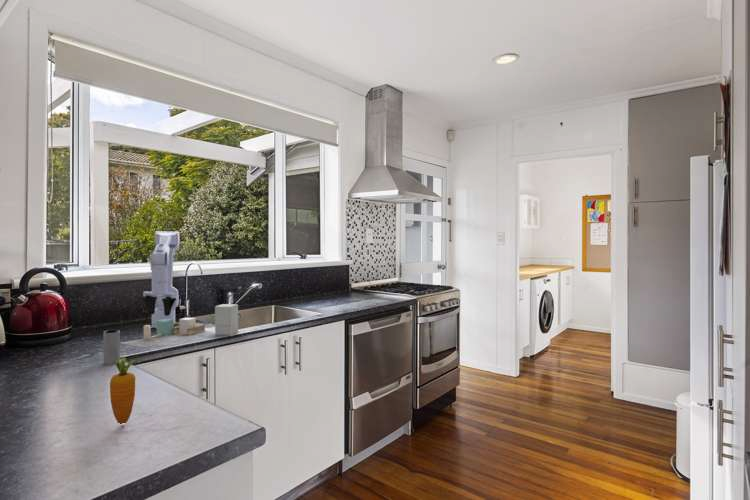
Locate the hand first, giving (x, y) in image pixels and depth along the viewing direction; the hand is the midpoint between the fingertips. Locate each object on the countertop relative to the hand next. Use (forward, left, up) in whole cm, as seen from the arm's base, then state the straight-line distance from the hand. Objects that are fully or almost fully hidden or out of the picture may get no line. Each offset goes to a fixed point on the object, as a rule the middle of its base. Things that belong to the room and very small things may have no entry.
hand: (159, 314), depth 172 cm
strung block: (-1, 0, -9) cm, 9 cm away
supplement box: (+22, +14, -10) cm, 28 cm away
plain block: (+6, +9, -9) cm, 14 cm away
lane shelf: (+3, +10, -10) cm, 14 cm away
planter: (+11, -33, -10) cm, 36 cm away
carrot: (+53, -70, -10) cm, 89 cm away
